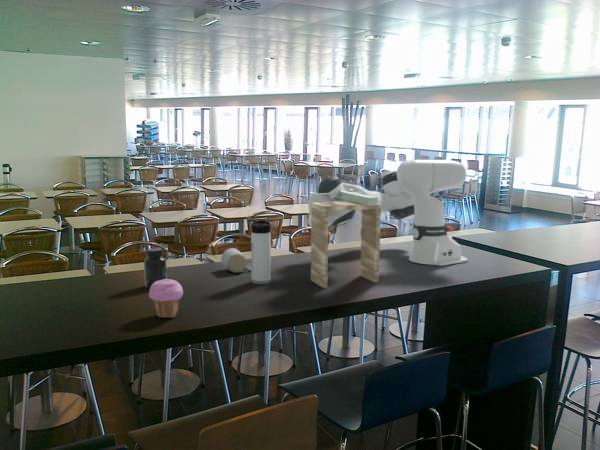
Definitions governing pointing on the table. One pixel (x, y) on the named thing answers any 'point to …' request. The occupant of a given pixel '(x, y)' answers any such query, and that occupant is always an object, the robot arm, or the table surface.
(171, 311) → the cupcake
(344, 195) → the bar
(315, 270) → the frame
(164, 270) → the supplement bottle
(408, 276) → the table surface
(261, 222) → the travel mug
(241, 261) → the ceramic mug
